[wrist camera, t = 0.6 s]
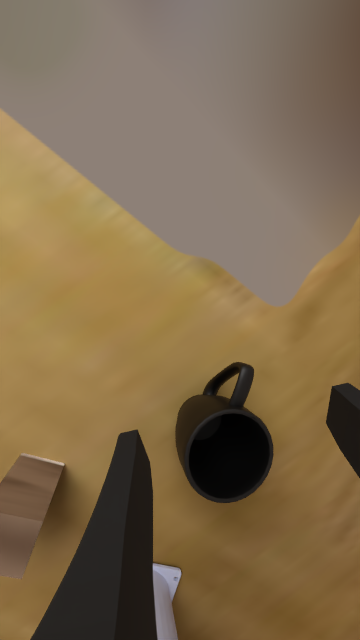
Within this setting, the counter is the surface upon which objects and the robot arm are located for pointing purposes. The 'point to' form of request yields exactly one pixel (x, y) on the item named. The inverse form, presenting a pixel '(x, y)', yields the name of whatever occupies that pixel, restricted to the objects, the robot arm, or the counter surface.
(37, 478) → the walnut block
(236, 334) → the counter surface
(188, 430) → the mug
